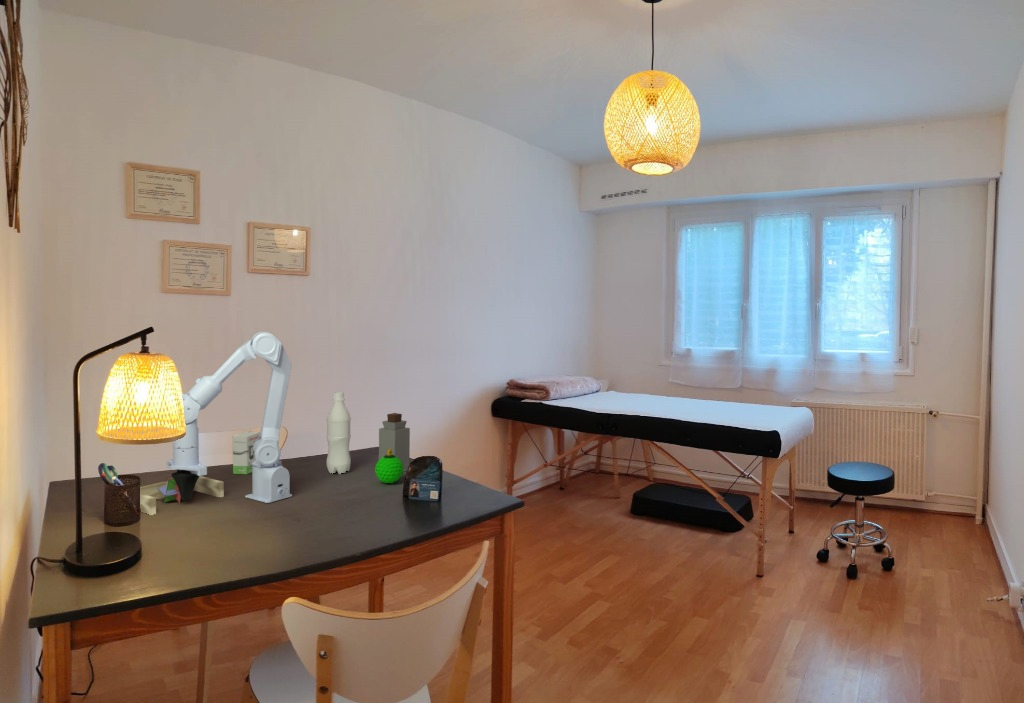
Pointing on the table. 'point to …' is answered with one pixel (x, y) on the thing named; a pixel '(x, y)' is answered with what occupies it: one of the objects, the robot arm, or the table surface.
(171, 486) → the geometric puzzle
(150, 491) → the beige piece
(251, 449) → the ink box
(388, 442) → the perfume bottle
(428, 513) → the table surface
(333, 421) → the water bottle
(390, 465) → the ornament
